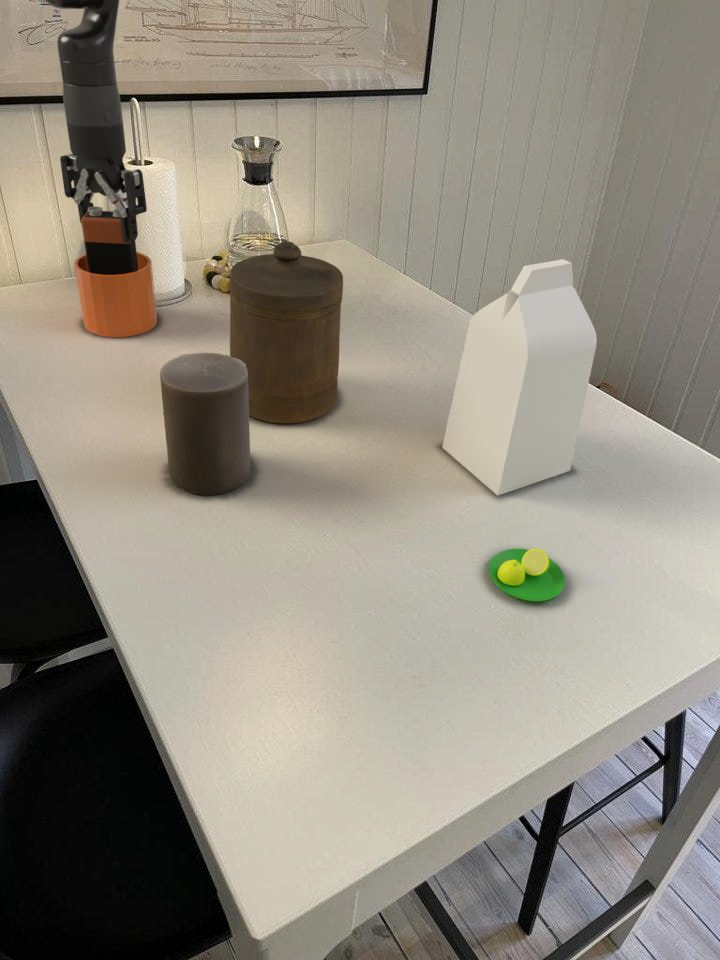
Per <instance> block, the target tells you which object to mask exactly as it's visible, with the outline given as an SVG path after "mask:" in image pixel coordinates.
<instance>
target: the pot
mask: <svg viewBox="0 0 720 960" xmlns="http://www.w3.org/2000/svg"><path fill="white" fill-rule="evenodd" d="M136 253H137V262H138V270H137V271H136V272H132V273H127V274H119V275H100V274H94V273H90V272H89V270H88V263H87V257H86V253H84V254H82V255H80V256H79V257H77V258H76V259H75V260H74V262H73V267H74V273H75V279H76V285H77V291H78V297H79V304H80V310H81V311H80V312H81V316H82V322H83V326H84V328H85V329H86V330H87V331H88V332H89V333H91V334H94V335H98V336H101V337H106V338H127V337H134V336H139V335H141V334H145V333H146V332H149V331H151V330H153V328H155V326H156V325H157V323H158V313H157V302H156V293H155V283H154V271H153V262H152V260H151V258H150V256H148V255H147V254H144V253H143V252H140V251H136Z"/></svg>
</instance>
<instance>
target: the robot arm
mask: <svg viewBox="0 0 720 960" xmlns="http://www.w3.org/2000/svg"><path fill="white" fill-rule="evenodd" d="M43 1H44V2H46V4H48V5H49V6H51V7H53V8H56V9H60V10H83V13H82V18H81V21H80V23H79V25H76V26H75V27H73V28H70V29H67V30H65V31H62V32H61V33H60V34H59V35H58V36H57V42H56V44H57V54H58V59H59V68H60V73H61V81H62V99H63V101H62V102H63V108H64V115H65V122H66V127H67V135H68V141H69V142H68V143H69V149H70V152H71V153H67V154H65V155H61V156H60V158H59V161H60V169H61V176H62V183H63V191H64V196H65V197H66V198H68V199H69V198H71V199H72V200H73V201H74V203H75V204H76V205H77V211H78V217H79V223H80V225H81V226H82V223H81V219H82V218H83V216H84V215H85V214H86V212H87V211H88V208H89V207H95V206H94V202H91V201H92V200H93V198H94V196H95V194H100V195H102V196H104V197H107V199H108V201H109V202H110V203H111V204H112V205H114V206H115V207H116V209H118V211H119V213H120V215H121V216H122V217H120V220H121V229H122V237H123V241H125V242H128V243H129V242H132V241H134V240H135V241H136V240H137V238H138V235H139V232H138V220H137V215H141V214H143V213H146V212H147V211H148V210H147V209H148V207H147V200H146V199H147V198H146V191H145V183H144V174H143V171H142V170H141V169H139V168H137V169H134V170H131V169H127V168H126V167H125V163H124V157H125V154H126V152H127V148H126V139H125V137H126V136H125V129H124V119H123V109H122V101H121V95H120V92H119V87H118V83H117V73H116V64H115V54H114V45H115V36H116V29H117V21H118V12H119V7H120V0H43ZM72 182H73V184H72ZM120 191H121V193H119V192H120ZM124 203H125V204H124ZM125 205H126V206H125Z"/></svg>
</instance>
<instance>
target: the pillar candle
mask: <svg viewBox="0 0 720 960" xmlns="http://www.w3.org/2000/svg"><path fill="white" fill-rule="evenodd" d="M159 380H160V388H161V389H160V390H161V400H162V401H161V402H162V409H163V410H162V411H163V413H162V414H163V421H164V422H163V423H164V432H165V443H166V444H165V445H166V454H167V455H166V457H167V465H168V473H169V477H170V479H171V481H172V483H173V484H174V485H175V486H176V487H177V488H178V489H180V490H182V491H185V492H187V493H191V494H196V495H200V496H216V495H220V494H224V493H225V494H226V493H227V492H231V491H233V490H236V489H237V488H240V487H241V486H242V485H244V484H245V483H246V482H247V481H248V479H249V477H250V475H251V468H252V467H251V443H250V442H251V440H250V439H251V436H250V416H249V396H248V371H247V368H246V364H245V363H243V362H242V361H241V360H239V359H236V358H233V357H230V355H228V354H222V353H216V352H195V353H183V354H181V355H178V357H175V358H172V359H170V360H169V361H167V362H166V363H164V364H163V366H162V367H161V369H160V370H159Z"/></svg>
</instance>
